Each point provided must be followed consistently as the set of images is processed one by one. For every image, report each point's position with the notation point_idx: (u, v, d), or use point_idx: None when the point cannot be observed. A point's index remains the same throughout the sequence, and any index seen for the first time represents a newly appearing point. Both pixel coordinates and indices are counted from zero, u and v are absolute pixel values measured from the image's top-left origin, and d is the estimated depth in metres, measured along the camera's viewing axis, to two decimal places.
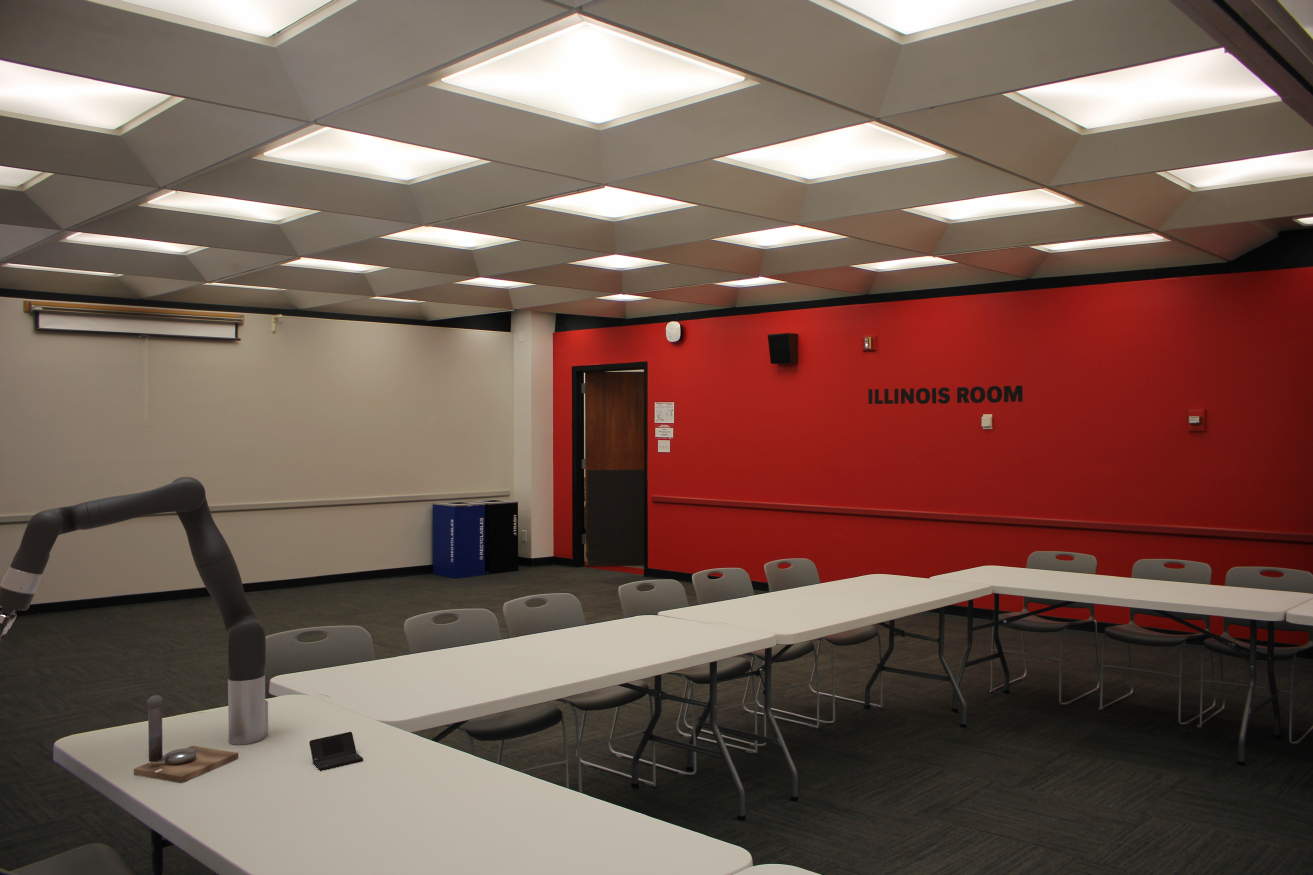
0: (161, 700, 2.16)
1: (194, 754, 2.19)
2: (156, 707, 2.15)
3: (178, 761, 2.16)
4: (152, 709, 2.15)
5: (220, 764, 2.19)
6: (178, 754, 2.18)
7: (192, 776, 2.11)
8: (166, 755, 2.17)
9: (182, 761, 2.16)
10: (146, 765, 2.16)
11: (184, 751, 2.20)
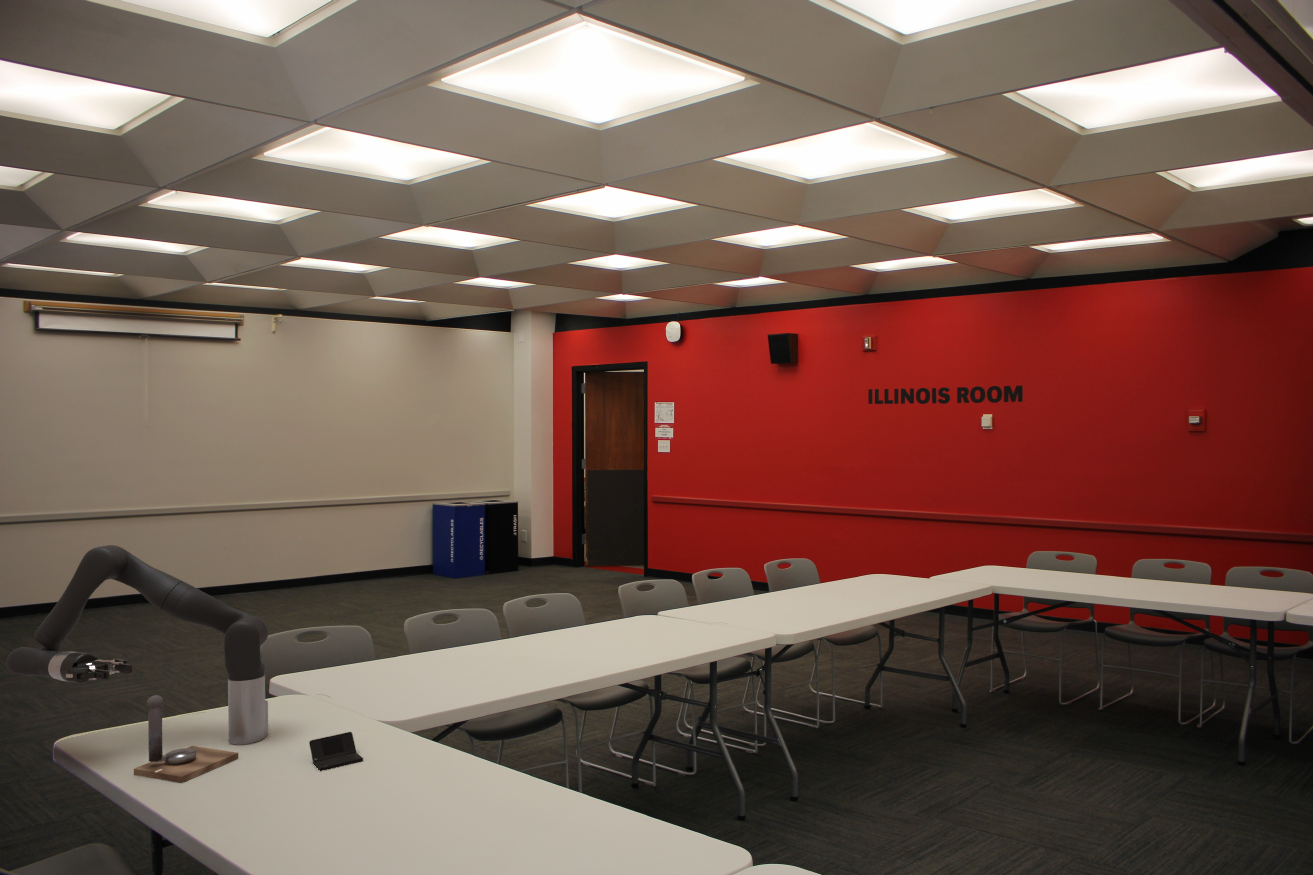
0: (161, 700, 2.16)
1: (194, 754, 2.19)
2: (156, 707, 2.15)
3: (178, 761, 2.16)
4: (152, 709, 2.15)
5: (220, 764, 2.19)
6: (178, 754, 2.18)
7: (192, 776, 2.11)
8: (166, 755, 2.17)
9: (182, 761, 2.16)
10: (146, 765, 2.16)
11: (184, 751, 2.20)
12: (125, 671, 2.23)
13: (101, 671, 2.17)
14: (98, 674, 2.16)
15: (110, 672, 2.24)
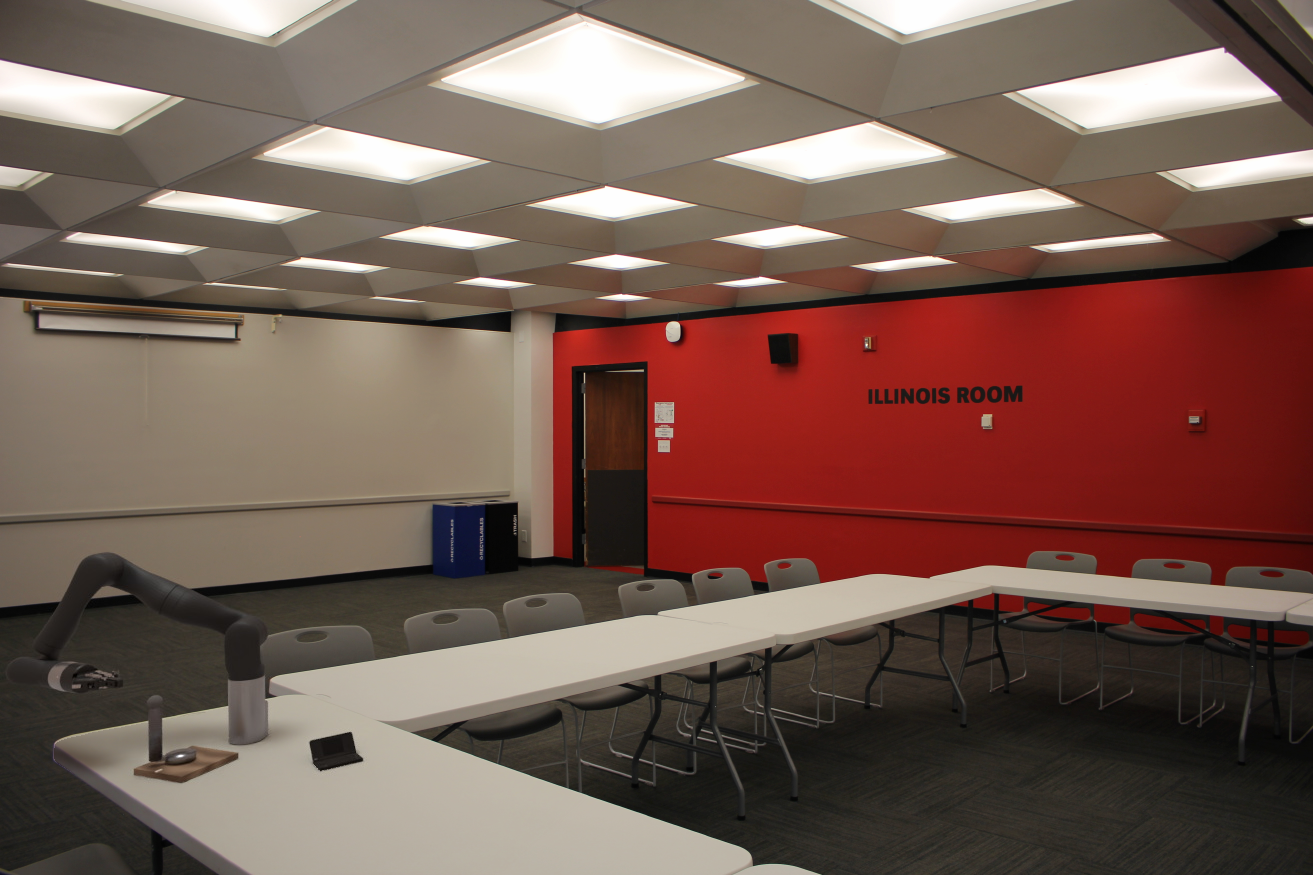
0: (161, 700, 2.16)
1: (194, 754, 2.19)
2: (156, 707, 2.15)
3: (178, 761, 2.16)
4: (152, 709, 2.15)
5: (220, 764, 2.19)
6: (178, 754, 2.18)
7: (192, 776, 2.11)
8: (166, 755, 2.17)
9: (182, 761, 2.16)
10: (146, 765, 2.16)
11: (184, 751, 2.20)
12: None
13: (112, 680, 2.19)
14: (109, 683, 2.19)
15: None
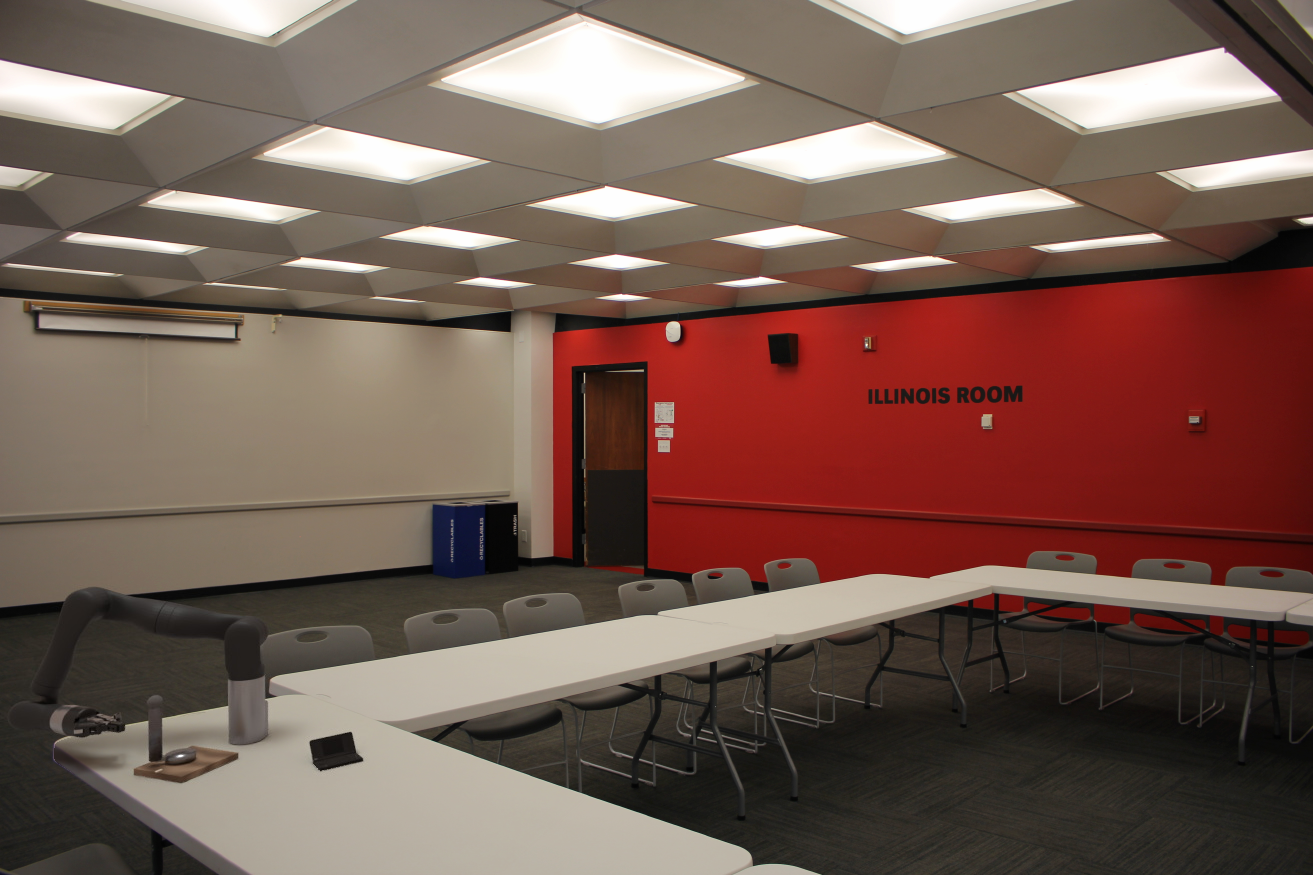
0: (161, 700, 2.16)
1: (194, 754, 2.19)
2: (156, 707, 2.15)
3: (178, 761, 2.16)
4: (152, 709, 2.15)
5: (220, 764, 2.19)
6: (178, 754, 2.18)
7: (192, 776, 2.11)
8: (166, 755, 2.17)
9: (182, 761, 2.16)
10: (146, 765, 2.16)
11: (184, 751, 2.20)
12: None
13: (114, 724, 2.19)
14: (111, 727, 2.19)
15: None
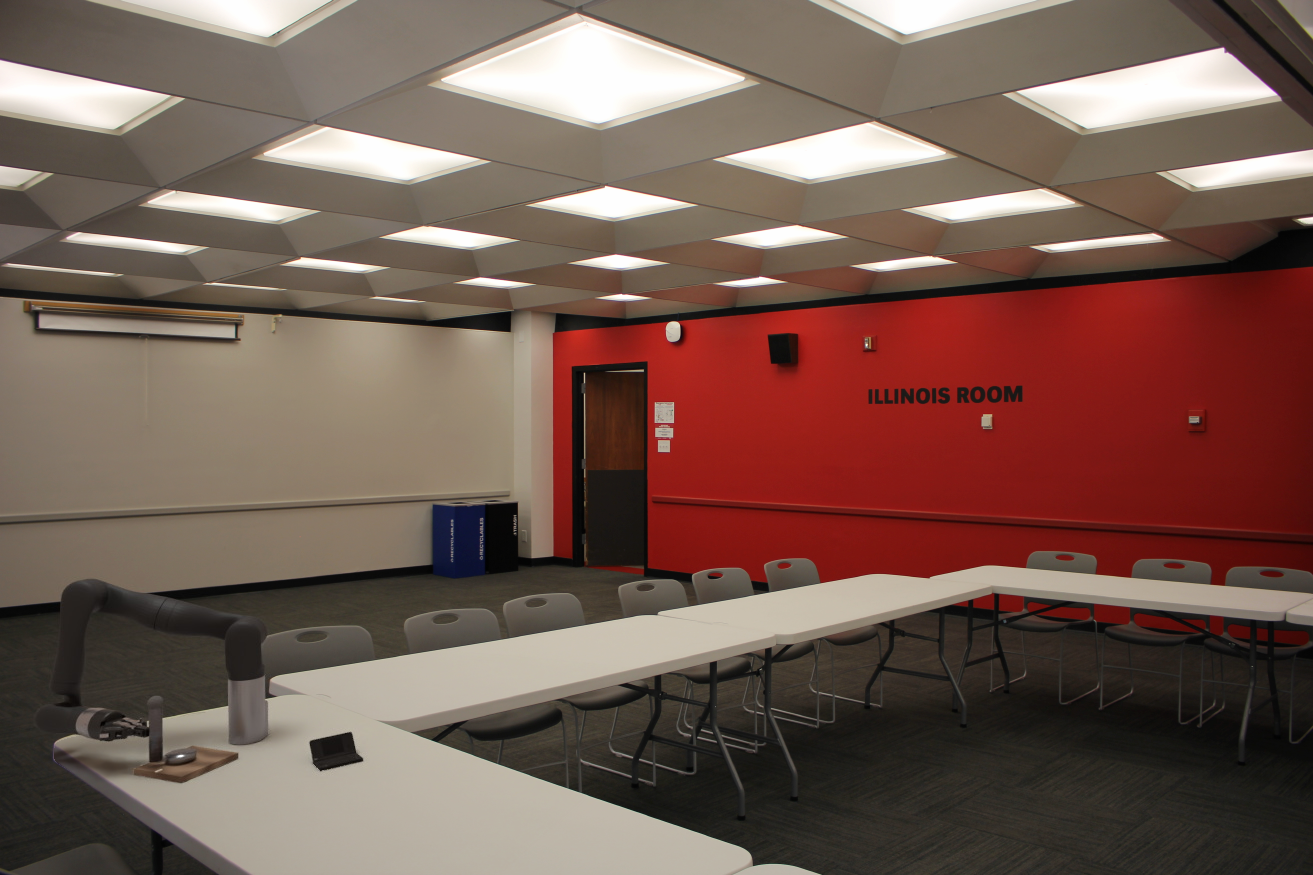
0: (162, 700, 2.16)
1: (195, 754, 2.19)
2: (157, 707, 2.14)
3: (180, 761, 2.16)
4: (153, 709, 2.14)
5: (220, 764, 2.19)
6: (179, 754, 2.18)
7: (192, 776, 2.11)
8: (166, 755, 2.17)
9: (184, 761, 2.16)
10: (146, 765, 2.16)
11: (184, 751, 2.20)
12: None
13: (140, 728, 2.15)
14: (137, 732, 2.15)
15: None
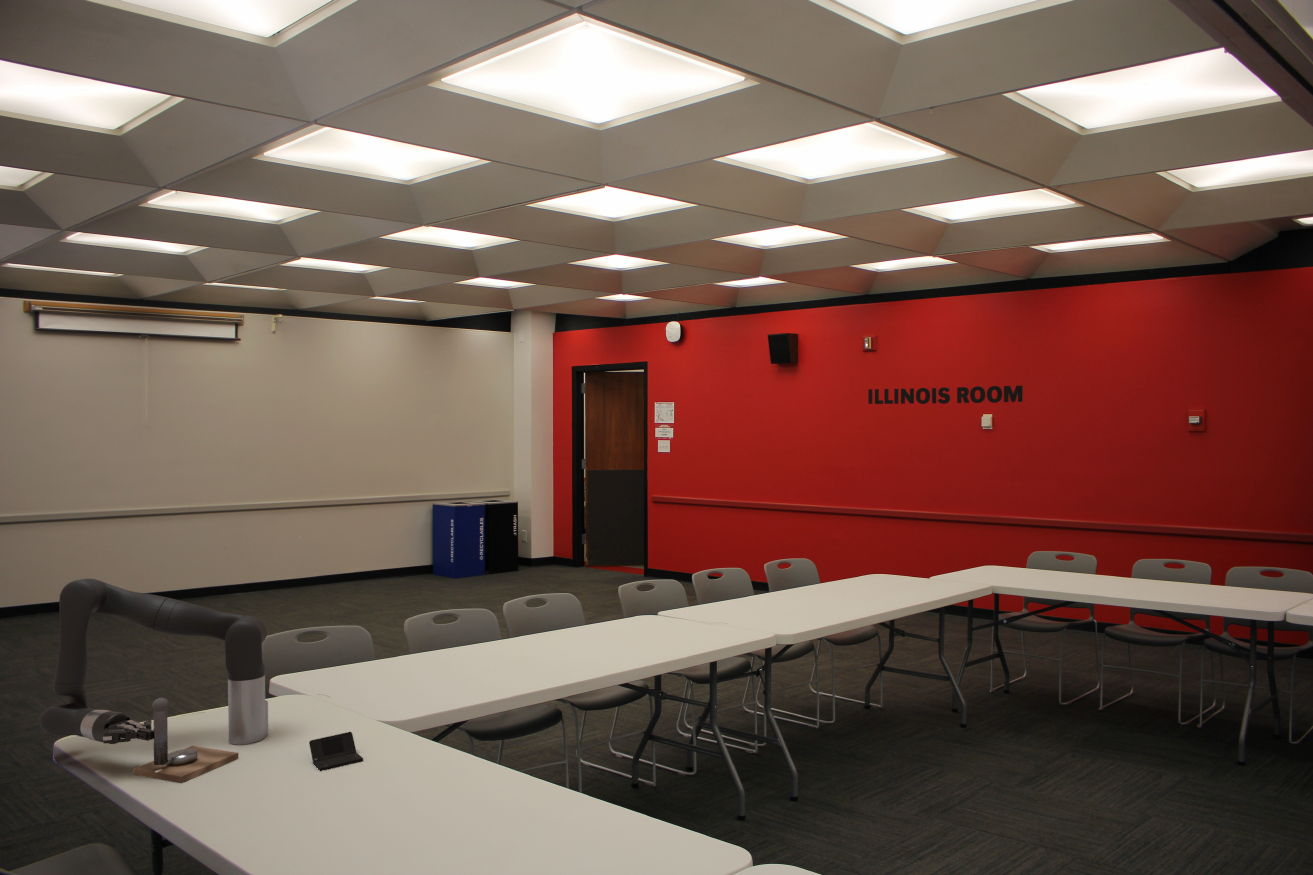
0: None
1: (197, 752, 2.20)
2: (165, 709, 2.13)
3: (187, 760, 2.16)
4: (161, 711, 2.13)
5: (220, 764, 2.19)
6: (182, 754, 2.18)
7: (192, 776, 2.11)
8: (169, 757, 2.16)
9: (191, 760, 2.17)
10: (146, 765, 2.16)
11: (183, 751, 2.20)
12: None
13: (143, 731, 2.13)
14: (140, 735, 2.12)
15: None
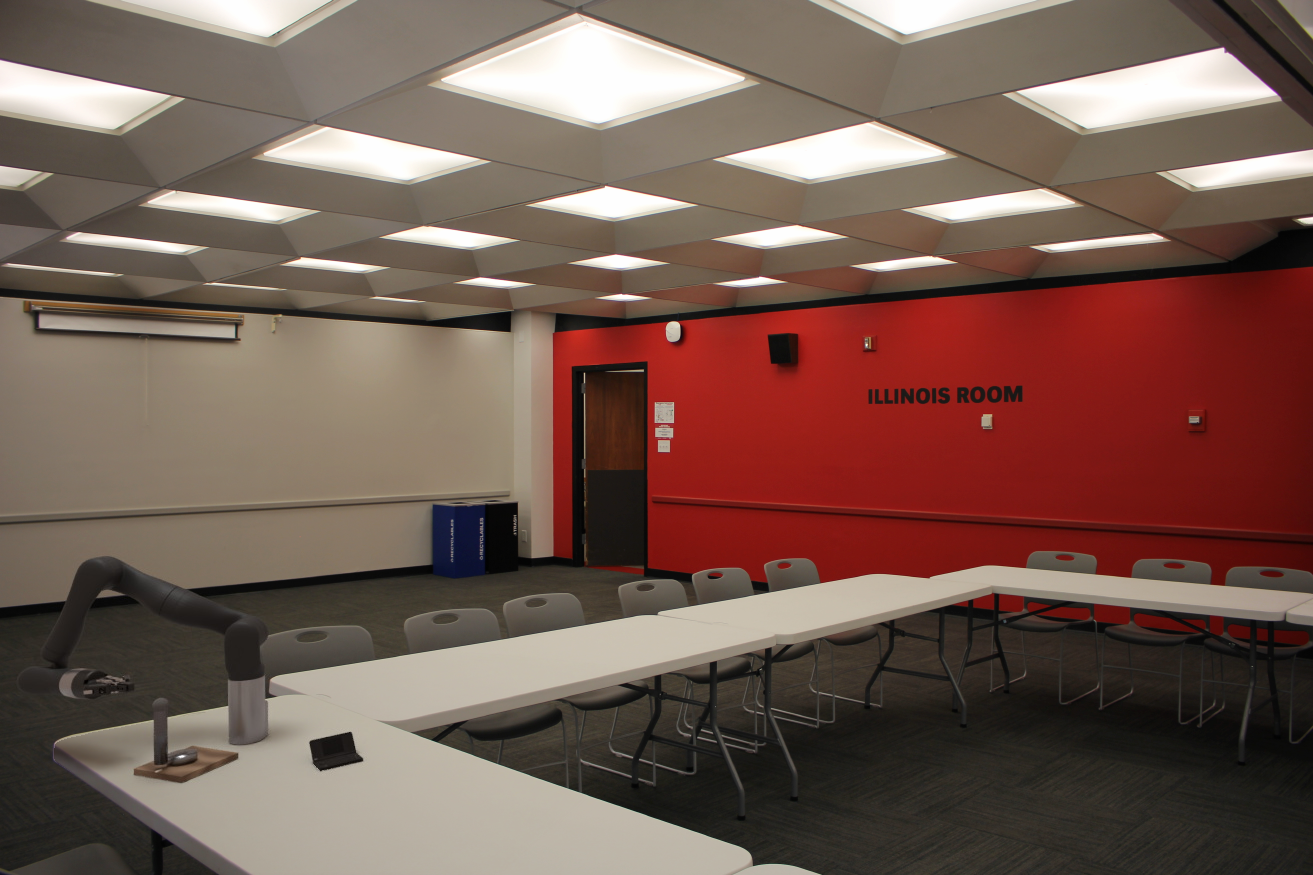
0: (168, 702, 2.14)
1: (197, 752, 2.20)
2: (165, 709, 2.13)
3: (187, 760, 2.16)
4: (161, 711, 2.13)
5: (220, 764, 2.19)
6: (182, 754, 2.18)
7: (192, 776, 2.11)
8: (169, 757, 2.16)
9: (191, 760, 2.17)
10: (146, 765, 2.16)
11: (183, 751, 2.20)
12: None
13: (123, 684, 2.21)
14: (120, 687, 2.20)
15: None
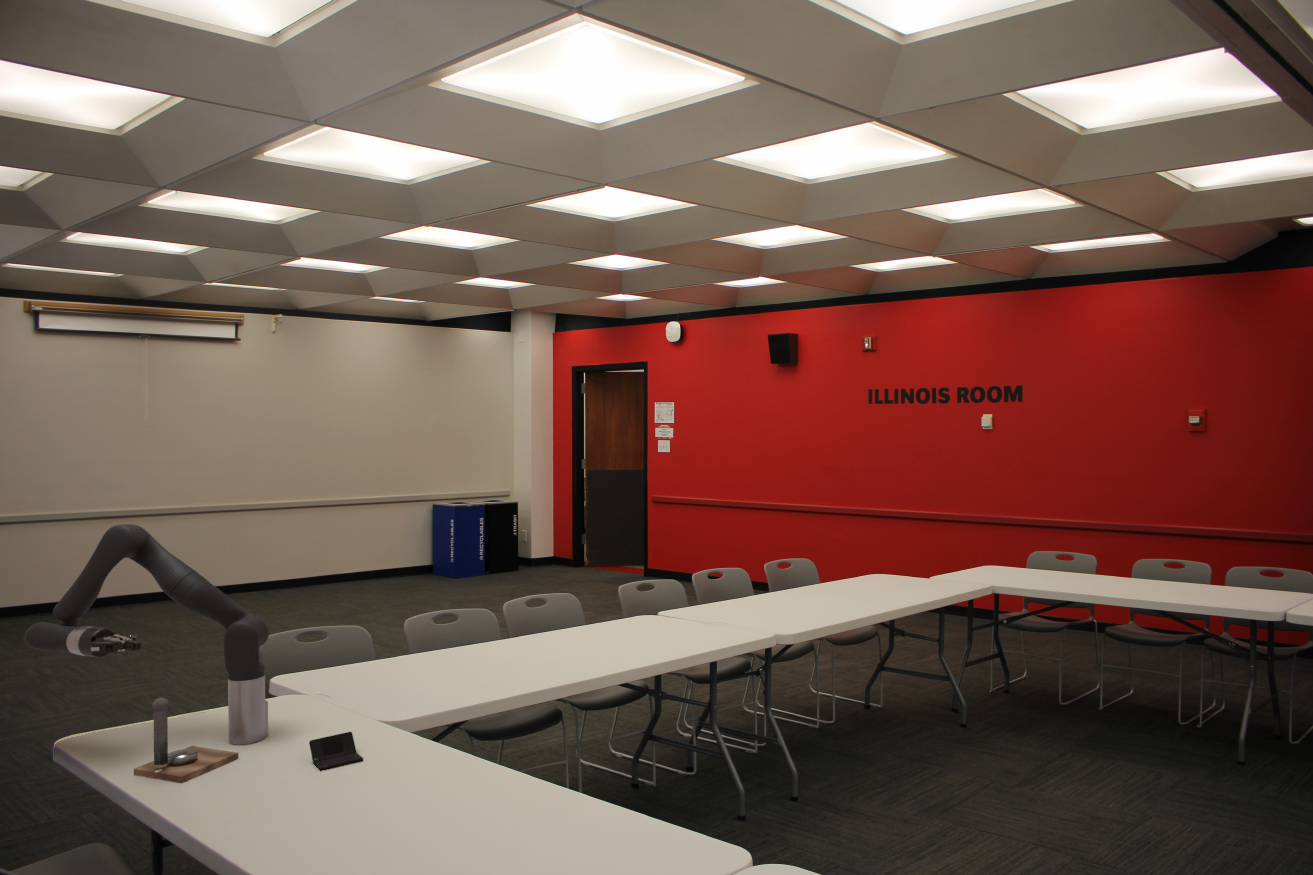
0: (168, 702, 2.14)
1: (197, 752, 2.20)
2: (165, 709, 2.13)
3: (187, 760, 2.16)
4: (161, 711, 2.13)
5: (220, 764, 2.19)
6: (182, 754, 2.18)
7: (192, 776, 2.11)
8: (169, 757, 2.16)
9: (191, 760, 2.17)
10: (146, 765, 2.16)
11: (183, 751, 2.20)
12: None
13: (130, 642, 2.22)
14: (127, 645, 2.21)
15: None
